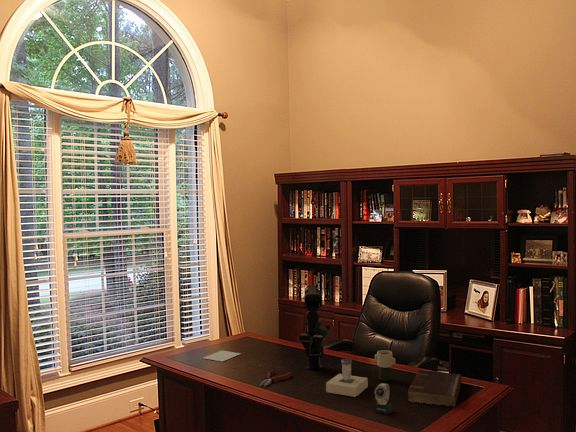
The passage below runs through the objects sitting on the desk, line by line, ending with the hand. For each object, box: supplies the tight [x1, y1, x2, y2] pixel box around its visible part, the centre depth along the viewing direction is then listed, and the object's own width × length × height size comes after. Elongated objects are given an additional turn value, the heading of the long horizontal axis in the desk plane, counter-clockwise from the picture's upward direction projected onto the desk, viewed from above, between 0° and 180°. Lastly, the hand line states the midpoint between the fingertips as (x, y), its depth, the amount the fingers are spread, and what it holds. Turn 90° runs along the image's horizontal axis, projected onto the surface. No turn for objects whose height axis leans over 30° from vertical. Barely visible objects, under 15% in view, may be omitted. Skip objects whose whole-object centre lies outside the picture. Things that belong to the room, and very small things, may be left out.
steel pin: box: [340, 358, 353, 384], centre depth 238 cm, size 5×5×13 cm
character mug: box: [374, 349, 396, 382], centre depth 249 cm, size 11×7×13 cm, turn 48°
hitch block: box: [325, 373, 369, 398], centre depth 238 cm, size 14×14×4 cm
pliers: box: [258, 369, 293, 387], centre depth 253 cm, size 12×20×3 cm, turn 152°
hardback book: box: [407, 369, 463, 408], centre depth 232 cm, size 29×19×5 cm, turn 157°
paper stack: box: [203, 350, 242, 362], centre depth 289 cm, size 23×25×1 cm
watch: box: [374, 382, 393, 415], centre depth 212 cm, size 6×8×11 cm
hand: (313, 353), depth 253 cm, fingers open, 9 cm apart
